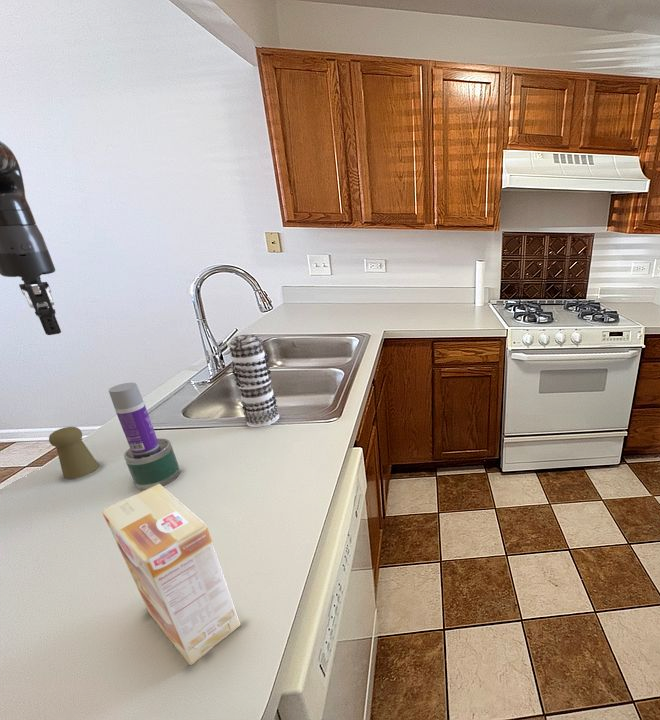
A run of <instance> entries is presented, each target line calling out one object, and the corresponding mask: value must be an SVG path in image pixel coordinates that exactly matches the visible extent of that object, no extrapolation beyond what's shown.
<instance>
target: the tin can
mask: <svg viewBox="0 0 660 720" xmlns="http://www.w3.org/2000/svg"><path fill="white" fill-rule="evenodd" d="M157 440H158V443H159V447H158V448H157V449H156V450H154V451H152V452H150V453H147V454H143V455H134V454H132V451H131V449H130V447H129V448H128V449H127V450H126V451H125V452H124V453H123V457H124V461H125V464H126V467H127V469H128V471H129V474H130V476H131V478H132V481H133V483H134V485H135V488H137V490H140V491H144V490H147V489H149V488H151V487H153V486H155V485H157V484H160V485H162V486H163V487H164V486H166V485H169V484H170V483H172V482H173V481H175V480H176V479H177V478H178V477H179V476H180V474H181V469H180V467H179V463H178V460H177V457H176V454H175V451H174V449H173V446H172V444H171V441H170V440H169V439H168V438H163V437H162V438H161V437H160V438H157Z"/></svg>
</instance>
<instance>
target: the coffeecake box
mask: <svg viewBox="0 0 660 720" xmlns="http://www.w3.org/2000/svg"><path fill="white" fill-rule="evenodd" d="M100 512H101V514H102V515H103V517H104V520H105V522H106V524H107V526H108V528H109V530H110V532H111V535H112V536H113V539H114V540H115V543H116V545H117V547H118V549H119V551H120V553H121V556H122V558H123V560H124V563H125V564H126V566H127V569H128V571H129V573H130V575H131V577H132V579H133V581H134V583H135V585H136V588H137V590H138V592H139V594H140V596H141V599H142V601H143V602H144V606H145V608H146V610H147V612H148V613H149V615H150V616H151V618H152V619H153V620H154V621H155V623H156V624H157V625H158V627H159V628H160V630H161V631H162V632H163V633H164V634H165V636H166V637H167V638H168V639H169V641H170V642H171V644H173V645H174V647H175V648H176V650H177V651H178V652H179V653H180V655H181V656H182V658H184V660H185V661H186V662H187V663H188V665H189V666H192V665H194V664H196V662H197V661H199V660H200V659H201V658H202V657H203V656H205V655H206V654H208V652H209V651H211V650H212V649H213V648H214V647H215V646H216V645H218V644H219V643H220V642H222V641H223V640H224V639H226V638H227V637H228V636H229V635H230V634H232V633H233V632H234V631H236V630H237V629H239V627H240V626H242V625H241V622H240V618H239V616H238V612H237V610H236V607H235V604H234V601H233V598H232V596H231V591H230V589H229V587H228V584H227V580H226V578H225V575H224V572H223V569H222V566H221V563H220V560H219V557H218V554H217V551H216V549H215V546H214V543H213V540H212V537H211V534H210V531H209V527H208V525H207V524H206V523H205V522H204V521H203V520H202V519H201V518H200V517H198V515H196V513H194V512H192V510H191V509H189V508H188V507H187V506H186V505H184V504H183V503H182V502H181V500H179V499H178V498H177V497H175V495H174V494H172V493H171V492H170V491H168V489H166V488H165V487H164V486H162V485H160V484H157V485H155V486H153V487H151V488H149V489H147V490H141V491H140V492H139V493H137V494H135V495H132V496H130V497H127V498H126V499H121V500H119V501H117V502H115V503H113V504H111V505H109V506H107V507H106V508H103V509H102V510H101V511H100Z"/></svg>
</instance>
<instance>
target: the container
mask: <svg viewBox="0 0 660 720" xmlns="http://www.w3.org/2000/svg"><path fill="white" fill-rule="evenodd" d="M108 393H109V397H110V399H111V402H112V405H113V408H114V411H115V414H116V417H117V418H118V421H119V424H120V427H121V428H122V431H123V433H124V436H125V438H126V441H127V443H128V446H129V448H130V449H131V451H132V454H134V455H143V454H147V453H150V452H152V451H154V450H156V449H157V448H158V447H159V443H158V440H157V439H158V436H157V435H156V431H155V429H154V426H153V424H152V421H151V418H150V415H149V412H148V409H147V406H146V404H145V402H144V399H143V397H142V394H141V391H140V389H139V387H138V384H137V383H136V382H123V383H120V384H115V385H113V386H111V387H110V388H108Z"/></svg>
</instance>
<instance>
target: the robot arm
mask: <svg viewBox="0 0 660 720" xmlns="http://www.w3.org/2000/svg"><path fill="white" fill-rule="evenodd" d="M52 259H53V258H52V257H51V254H50V251H49V248H48V246H47V243H46V240H45V238H44V235H43V234H42V232H41V230H40V229H39V227H38V225H37V222H36V219H35V217H34V214H33V211H32V209H31V206H30V205H29V202H28V200H27V197H26V189H25V184H24V178H23V175H22V170H21V167H20V164H19V161H18V159H17V157H16V155H15V154H14V152H13V151H12V150H11V148H10V146H8V145H7V144H5V143H4V141H1V140H0V276H3V277H5V278H6V277H7V278H20V279H21V281H22V282H23V283H19V284H18V286H19V290H20V291H21V293H22V295H23V296H25V299H26V302H27V304H28V306H29V307H30V308H31V309H34V314H35V315H36V316H37V318H38V319H39V321H40V323H41V326H42V328H43V331H44V333H45V335H46V336H52V335H53V336H55V335H60V334H61V333H62V329H61V327H60V324H59V322H58V320H57V317H56V313H57V312H56V309H55V308H54V307H53V306H54V305H55V301H54V298H53V296H52V290H51V286H50V285H49V282H48V281H42V280H41V279H42V278H41V276H42V275H50V274H52V273H53V274H54V273H55V272H56V267H55V265H54V262H53V260H52Z"/></svg>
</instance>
